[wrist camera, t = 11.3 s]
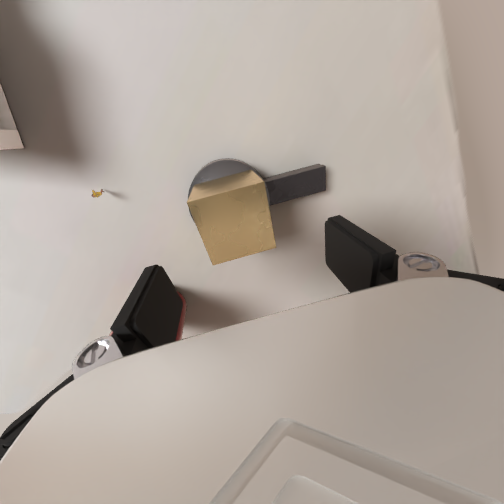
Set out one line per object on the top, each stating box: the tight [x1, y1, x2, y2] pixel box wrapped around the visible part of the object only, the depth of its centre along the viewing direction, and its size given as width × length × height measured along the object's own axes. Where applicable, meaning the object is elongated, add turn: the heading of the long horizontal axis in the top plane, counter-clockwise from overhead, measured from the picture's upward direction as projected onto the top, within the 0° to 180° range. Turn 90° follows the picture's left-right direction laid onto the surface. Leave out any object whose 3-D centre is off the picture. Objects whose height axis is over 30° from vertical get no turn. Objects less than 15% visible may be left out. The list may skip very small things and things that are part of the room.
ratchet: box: [188, 158, 326, 222], centre depth 18 cm, size 14×8×5 cm, turn 103°
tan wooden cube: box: [187, 170, 276, 265], centre depth 17 cm, size 5×5×6 cm
